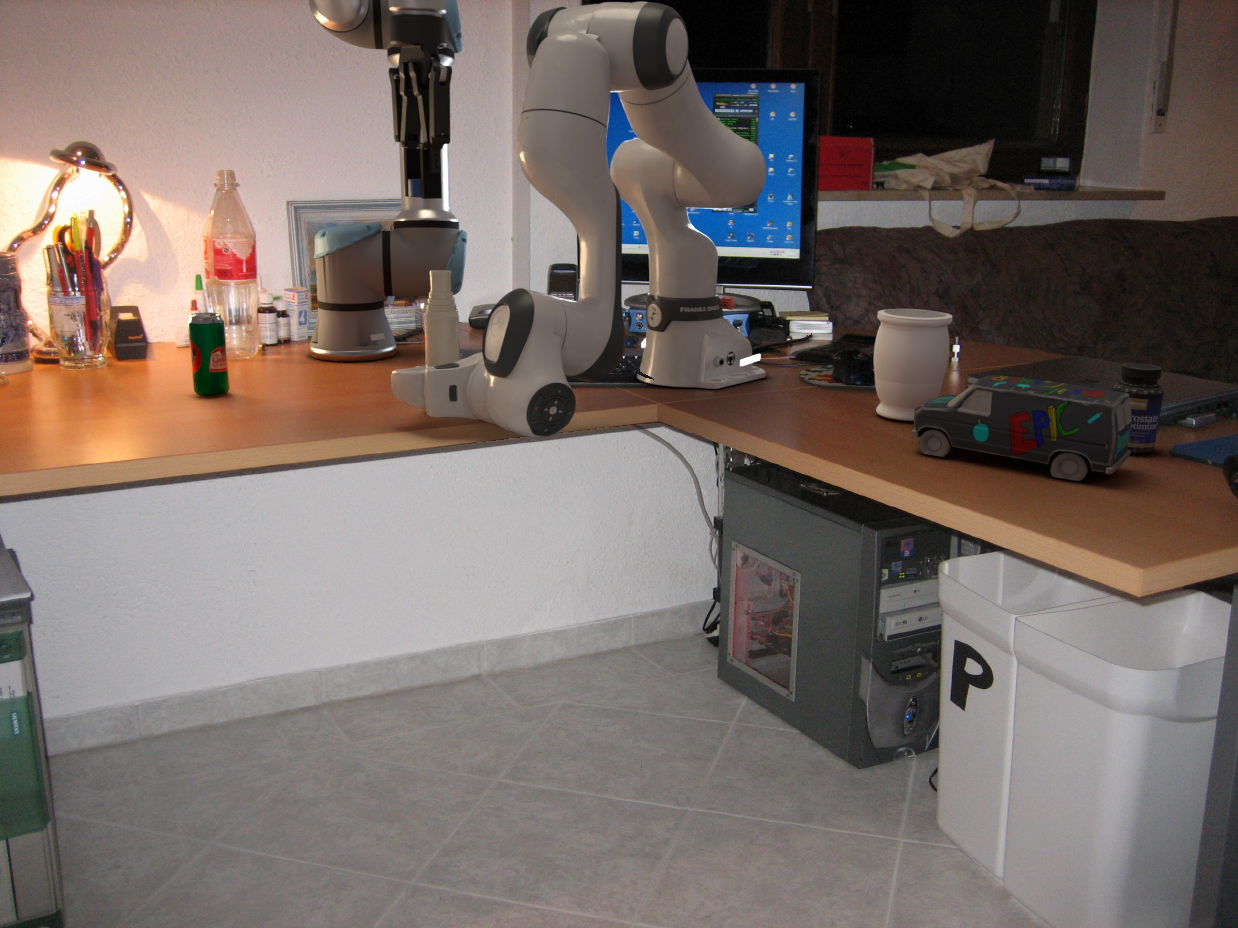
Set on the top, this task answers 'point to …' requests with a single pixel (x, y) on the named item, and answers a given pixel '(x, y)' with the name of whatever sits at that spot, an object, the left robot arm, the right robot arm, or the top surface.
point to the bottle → (441, 321)
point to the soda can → (208, 354)
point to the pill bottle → (1142, 403)
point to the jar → (909, 359)
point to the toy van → (1031, 424)
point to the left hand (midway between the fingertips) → (423, 197)
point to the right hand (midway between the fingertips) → (439, 369)
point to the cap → (414, 188)
